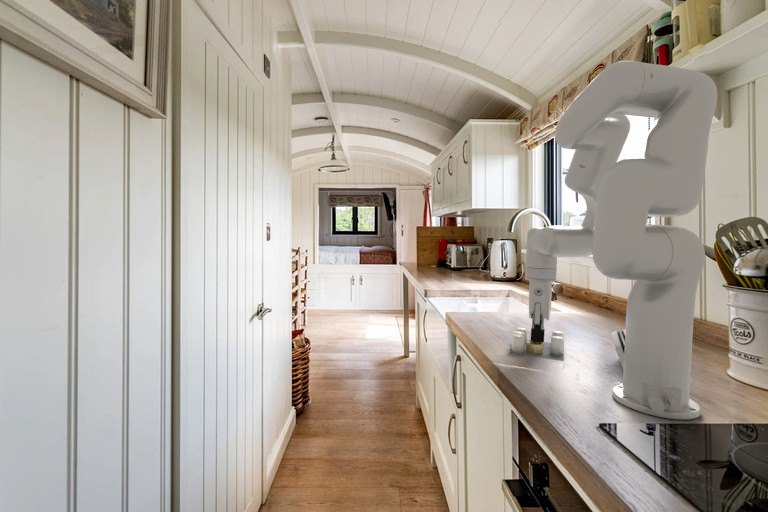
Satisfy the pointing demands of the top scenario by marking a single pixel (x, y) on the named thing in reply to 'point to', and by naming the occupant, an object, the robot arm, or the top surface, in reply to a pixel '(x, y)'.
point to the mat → (545, 354)
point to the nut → (534, 347)
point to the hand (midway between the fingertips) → (537, 343)
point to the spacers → (521, 338)
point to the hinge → (619, 345)
